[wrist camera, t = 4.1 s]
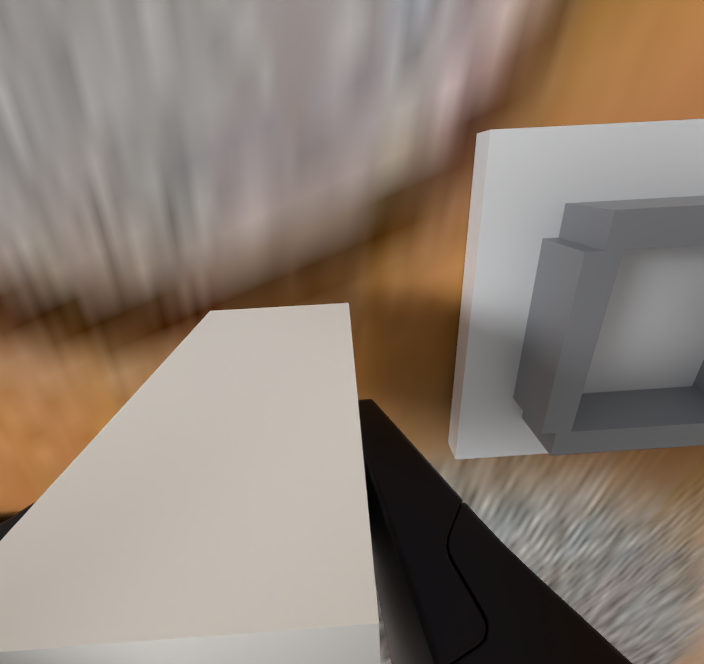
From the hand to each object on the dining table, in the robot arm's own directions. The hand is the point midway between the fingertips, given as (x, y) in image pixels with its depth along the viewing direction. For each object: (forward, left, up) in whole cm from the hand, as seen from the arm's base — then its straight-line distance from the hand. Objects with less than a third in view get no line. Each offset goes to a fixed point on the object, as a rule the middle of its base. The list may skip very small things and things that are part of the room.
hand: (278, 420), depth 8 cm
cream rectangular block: (0, 0, -2) cm, 2 cm away
